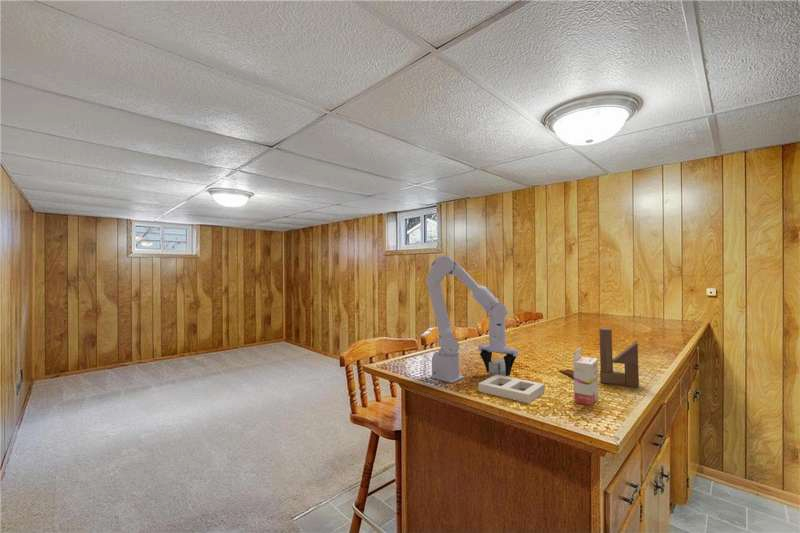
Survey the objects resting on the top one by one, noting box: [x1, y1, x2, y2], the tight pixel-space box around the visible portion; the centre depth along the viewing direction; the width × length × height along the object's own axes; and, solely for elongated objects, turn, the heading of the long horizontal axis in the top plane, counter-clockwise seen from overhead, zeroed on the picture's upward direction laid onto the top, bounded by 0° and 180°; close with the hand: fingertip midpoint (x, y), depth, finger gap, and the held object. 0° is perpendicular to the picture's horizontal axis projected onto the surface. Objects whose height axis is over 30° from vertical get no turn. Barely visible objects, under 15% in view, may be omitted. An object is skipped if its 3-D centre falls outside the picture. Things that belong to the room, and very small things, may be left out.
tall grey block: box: [488, 358, 506, 378], centre depth 126 cm, size 4×7×6 cm, turn 137°
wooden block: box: [598, 327, 640, 388], centre depth 116 cm, size 4×11×18 cm, turn 61°
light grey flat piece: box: [477, 374, 546, 404], centre depth 111 cm, size 16×12×2 cm
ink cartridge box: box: [572, 346, 599, 407], centre depth 103 cm, size 9×5×15 cm, turn 141°
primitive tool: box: [558, 369, 574, 380], centre depth 123 cm, size 19×6×4 cm, turn 2°
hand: (498, 373), depth 126 cm, fingers open, 7 cm apart
